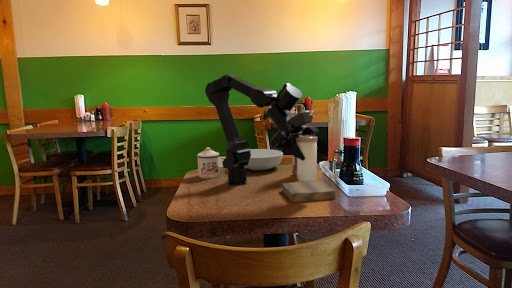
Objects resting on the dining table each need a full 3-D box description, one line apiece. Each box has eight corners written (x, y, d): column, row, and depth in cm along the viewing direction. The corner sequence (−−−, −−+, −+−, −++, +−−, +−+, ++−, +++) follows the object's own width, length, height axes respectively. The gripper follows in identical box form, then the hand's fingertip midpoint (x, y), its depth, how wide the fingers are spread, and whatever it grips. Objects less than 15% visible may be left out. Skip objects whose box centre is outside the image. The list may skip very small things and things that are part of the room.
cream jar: (304, 182, 111) (304, 139, 109) (292, 177, 116) (292, 136, 114) (321, 178, 114) (321, 137, 112) (308, 174, 119) (308, 134, 117)
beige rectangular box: (292, 202, 114) (292, 194, 113) (282, 190, 126) (282, 183, 126) (335, 198, 116) (335, 190, 116) (321, 187, 129) (321, 180, 128)
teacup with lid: (199, 179, 145) (198, 150, 143) (196, 174, 153) (195, 146, 151) (229, 176, 148) (228, 148, 146) (225, 171, 157) (223, 144, 155)
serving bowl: (277, 174, 149) (277, 158, 148) (228, 172, 155) (228, 156, 154) (287, 163, 169) (287, 149, 168) (244, 162, 175) (243, 148, 174)
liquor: (293, 172, 151) (292, 104, 147) (311, 173, 149) (311, 104, 144) (288, 177, 144) (287, 105, 140) (307, 178, 142) (306, 105, 137)
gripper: (276, 104, 107) (307, 145, 102) (313, 101, 121) (343, 137, 115) (257, 129, 114) (285, 169, 108) (294, 123, 127) (321, 159, 121)
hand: (310, 158), depth 113 cm, fingers closed on cream jar, 6 cm apart
